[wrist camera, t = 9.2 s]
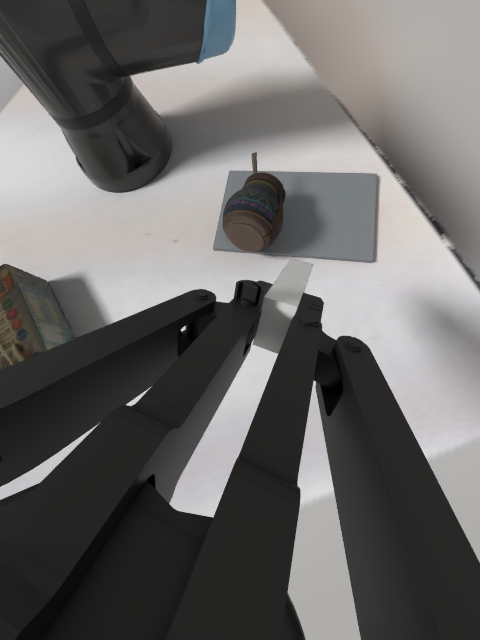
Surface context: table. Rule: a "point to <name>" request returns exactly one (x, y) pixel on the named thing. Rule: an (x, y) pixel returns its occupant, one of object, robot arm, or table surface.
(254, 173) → the mate gourd
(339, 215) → the mat
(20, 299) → the beverage carton
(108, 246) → the table surface
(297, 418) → the robot arm
